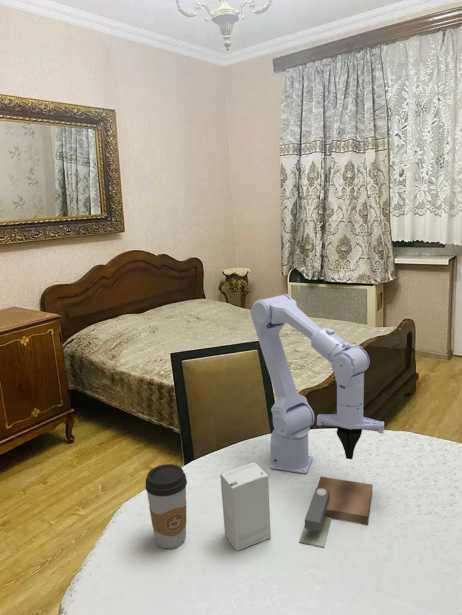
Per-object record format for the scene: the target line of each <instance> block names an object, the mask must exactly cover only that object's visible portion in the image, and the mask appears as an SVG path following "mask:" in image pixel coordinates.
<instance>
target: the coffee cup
mask: <svg viewBox="0 0 462 615" xmlns="http://www.w3.org/2000/svg"><path fill="white" fill-rule="evenodd" d="M186 475H187V474H186V473H185V472H184V470H183V468H182V467H181V466H180V465H177V464H171V463H168V464H167V463H166V464H160V465H157V466H155V467H153V468H151V469H150V470H149V471H148V473H147V476H146V478H145V486H144V488H145V491H146V493H147V494H146V495H147V500H148V508H149V513H150V519H151V524H152V525H151V526H152V528H153V535H154V540H155V542H156V544H157V546H159V547H160V546H161V547H160V548H162V547H163V548H162V549H165V548H172V549H175V548H174V547H176V548H177V546H178V547H180V546H181V545H182V544H183V543H184V542H183V541H185V540H186V537H187V484H188V480H187V476H186ZM184 539H185V540H184ZM182 542H183V543H182ZM181 543H182V544H181ZM180 544H181V545H180ZM179 545H180V546H179Z"/></svg>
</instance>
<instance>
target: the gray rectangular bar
mask: <svg viewBox="0 0 462 615" xmlns="http://www.w3.org/2000/svg"><path fill="white" fill-rule="evenodd" d="M329 499H330V490H326V489H320V488H317V487H315V491H314V492H313V495H312V499H311V501H310V504H309V507H308V510H307V511H306V515H305V518H304V525H305V529H310V530H315V531H320V528H321V525H322V522H323V518H324V515H325V512H326V509H327V505H328V502H329Z"/></svg>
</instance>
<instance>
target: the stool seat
mask: <svg viewBox="0 0 462 615" xmlns="http://www.w3.org/2000/svg"><path fill="white" fill-rule="evenodd" d="M316 488H320V489H326V490H330V499H329V502H328V505H327V509H326V512H325V515H324V518H323V522H322V525H321V528H320V531H315V530H310V529H305V524H304V527H303V528H302V531H301V535H300V538H299V541H298V543H299V544H304V545H309V546H313V547H318V548H323V549H325V545H326V542H327V537H328V535H329V531H330V527H331V522H332V519H333V520H341V521H345V522H351V523H356V524H361V525H368V524H369V517H370V510H371V505H372V504H371V503H372V498H373V483H372V484H371V483H365V482H359V481H352V480H346V479H339V478H333V477H327V476H319V480H318V483H317V486H316Z"/></svg>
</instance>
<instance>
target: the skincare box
mask: <svg viewBox="0 0 462 615" xmlns="http://www.w3.org/2000/svg"><path fill="white" fill-rule="evenodd" d="M219 478H220V490H221V501H222V513H223V527H224V535H225V537H226V538H227V540H228V541H229V540H230V541H229V542H230V544H231V543H232V544H231V545H232V547H233V546H234V547H235V548H234V547H233V548H234V549H235V551H236V550H239V551H241V550H243V548H244V549H246V548H249V547H250V545H251V546H252V545H255V544H258V543H260V542H263V541H265V540H268V539H271V538H272V536H271V535H272V534H271V532H272V531H271V530H272V529H271V512H270V511H271V510H270V486H269V475H268V474H267V473H266V472H265V471H264V470H263V469H262V468H261V467H260V466H259V465H258V464H257V463H256V462H255V461H254V462H251V463H248V464H247V463H246V464H245V465H242V466H239V467H236V468H233V469H231V470H226V471H225V472H222V473H220V474H219ZM248 546H249V547H248ZM245 547H246V548H245ZM240 549H241V550H240Z"/></svg>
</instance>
